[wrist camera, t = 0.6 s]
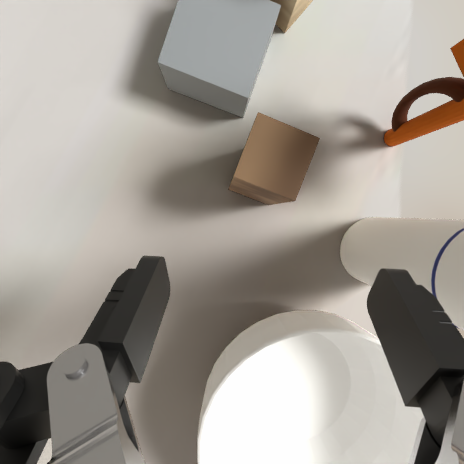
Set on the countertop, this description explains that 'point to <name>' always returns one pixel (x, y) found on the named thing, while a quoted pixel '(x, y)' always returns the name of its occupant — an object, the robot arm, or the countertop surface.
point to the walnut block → (273, 161)
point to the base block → (217, 50)
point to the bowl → (305, 397)
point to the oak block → (290, 12)
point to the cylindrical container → (411, 255)
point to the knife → (437, 117)
